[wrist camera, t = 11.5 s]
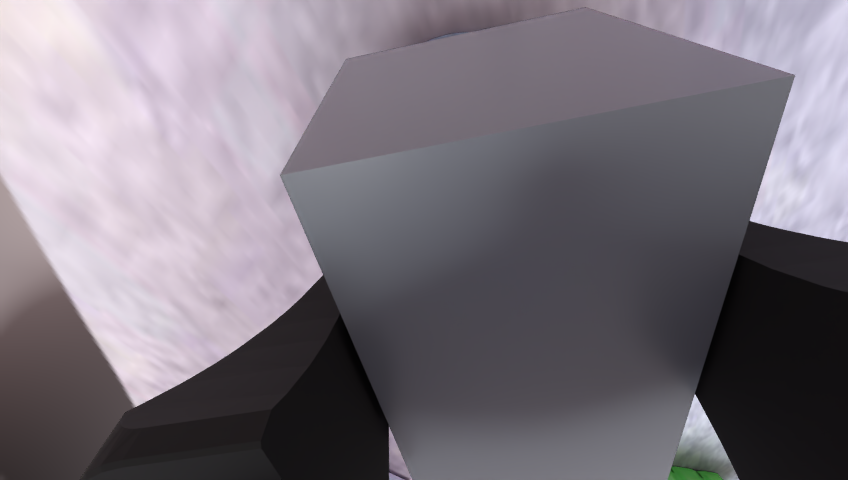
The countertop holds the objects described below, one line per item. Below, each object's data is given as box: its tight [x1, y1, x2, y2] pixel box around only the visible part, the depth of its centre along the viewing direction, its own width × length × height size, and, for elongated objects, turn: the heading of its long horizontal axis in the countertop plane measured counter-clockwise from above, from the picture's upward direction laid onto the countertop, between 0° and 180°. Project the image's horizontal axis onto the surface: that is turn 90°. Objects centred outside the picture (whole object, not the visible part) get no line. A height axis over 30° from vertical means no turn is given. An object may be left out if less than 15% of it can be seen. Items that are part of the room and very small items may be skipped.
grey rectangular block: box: [280, 7, 795, 480], centre depth 11 cm, size 11×6×7 cm, turn 11°
